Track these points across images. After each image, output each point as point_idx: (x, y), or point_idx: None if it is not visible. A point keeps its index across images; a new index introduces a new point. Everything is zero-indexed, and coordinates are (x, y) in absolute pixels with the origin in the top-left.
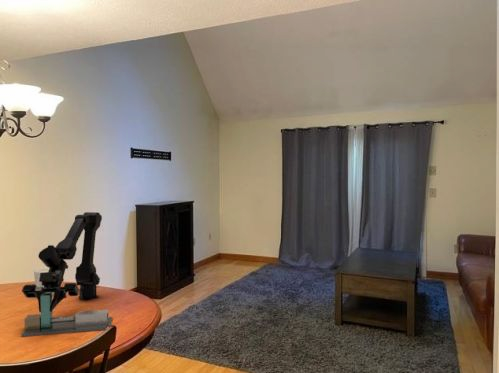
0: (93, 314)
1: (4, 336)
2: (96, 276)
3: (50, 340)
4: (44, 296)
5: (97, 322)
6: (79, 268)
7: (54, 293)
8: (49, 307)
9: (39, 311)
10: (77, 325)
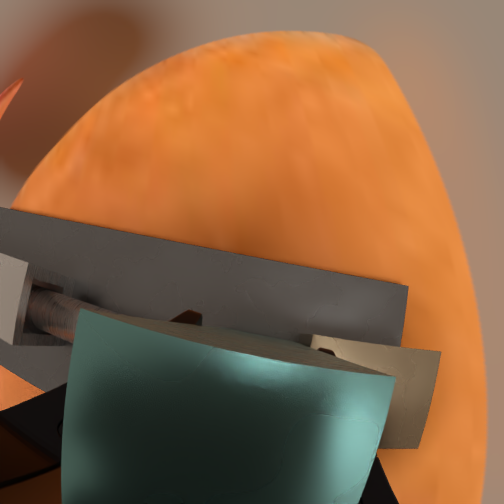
0: None
1: (480, 329)
2: None
3: (220, 162)
4: (252, 351)
5: None
6: None
7: (15, 472)
8: (192, 324)
9: (327, 349)
10: (64, 275)
